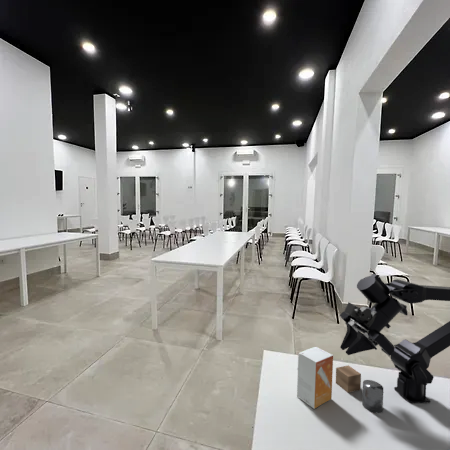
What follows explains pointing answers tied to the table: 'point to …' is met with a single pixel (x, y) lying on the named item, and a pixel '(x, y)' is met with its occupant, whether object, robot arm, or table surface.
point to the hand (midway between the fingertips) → (344, 351)
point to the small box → (315, 376)
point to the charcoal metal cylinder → (372, 396)
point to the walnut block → (348, 379)
